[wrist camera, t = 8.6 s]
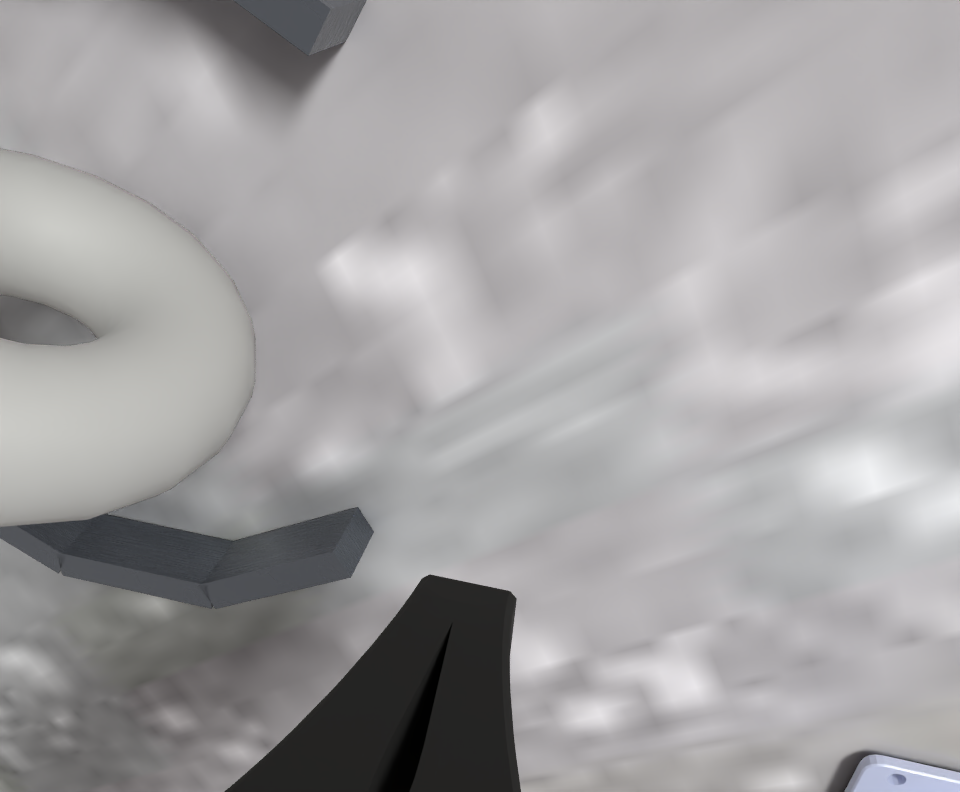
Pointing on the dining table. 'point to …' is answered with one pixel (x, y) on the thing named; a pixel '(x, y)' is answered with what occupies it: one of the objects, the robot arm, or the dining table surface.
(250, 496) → the dining table surface
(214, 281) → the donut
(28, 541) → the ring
